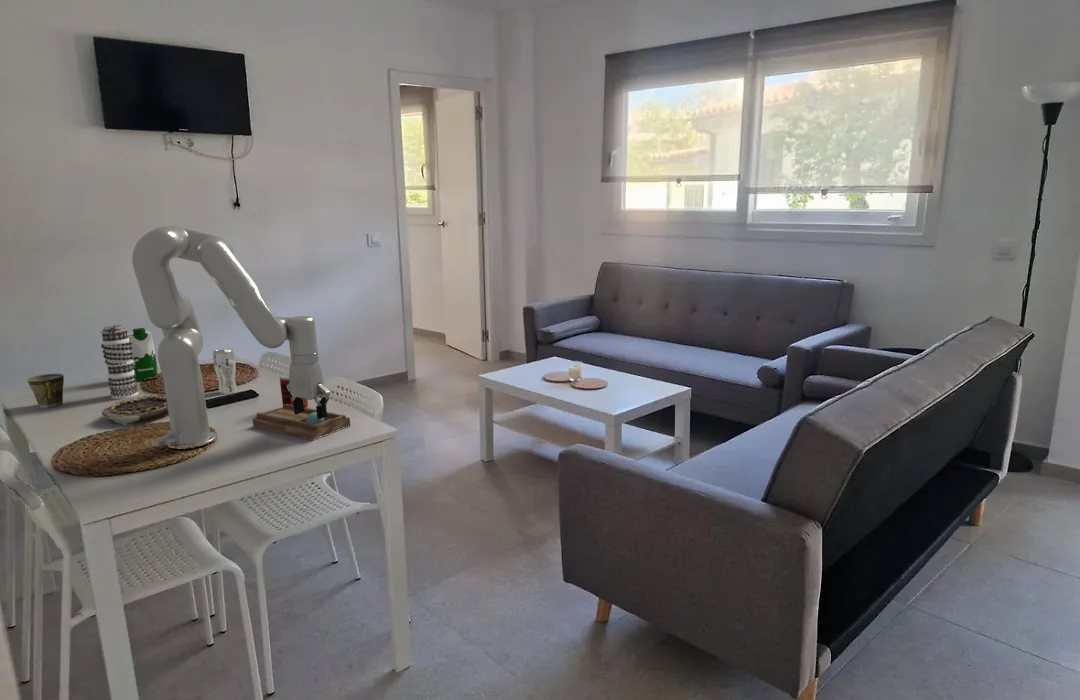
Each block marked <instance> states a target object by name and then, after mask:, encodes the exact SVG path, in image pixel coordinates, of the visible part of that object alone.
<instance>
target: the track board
mask: <svg viewBox="0 0 1080 700" xmlns="http://www.w3.org/2000/svg"><path fill="white" fill-rule="evenodd" d="M313 412H317V411H316V408H315V409H314V408H311V407H306V408H305V407H304V412H302V413H299V414H294V405H290V404H284V408H281V409H278V410H275V411H272V412H268V413H263V412H257V413H256V417H254V418H252V426H253V427H254V428H257V429H262V430H266V431H271V432H274V433H275V432H276V433H280V434H283V435H288V436H292V437H296V438H300V437H301V439H304V438H306V439H305V440H309V439H312V440H311V441H313V440H314V439H316V438H318V437H320V436H324V435H326V434H329V433H331V432H333V431H336V430H338V429H341V428H343V427H346V426H348V425H350V426H351V418H350V417H347V416H346V415H344V414H339V413H335V412H329V411H327V417H324V421H323V422H321V423H318V424H315V425H314V424H310V423H307V417H308V416H309V415H310V414H311V413H313ZM346 428H347V427H346ZM341 430H342V429H341ZM336 432H337V431H336ZM331 434H332V433H331ZM329 435H330V434H329ZM326 436H327V435H326ZM324 437H325V436H324ZM316 440H317V439H316ZM314 441H315V440H314Z"/></svg>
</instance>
